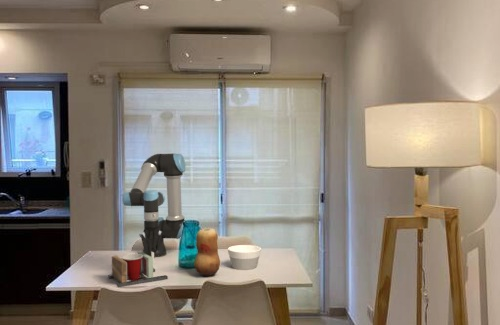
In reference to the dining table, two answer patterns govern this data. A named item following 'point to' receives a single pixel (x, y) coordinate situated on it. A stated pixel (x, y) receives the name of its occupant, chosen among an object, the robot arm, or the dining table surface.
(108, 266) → the dining table surface
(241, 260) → the bowl
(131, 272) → the plastic cup
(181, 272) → the dining table surface
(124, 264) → the vise bed
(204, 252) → the butternut squash
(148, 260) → the block
